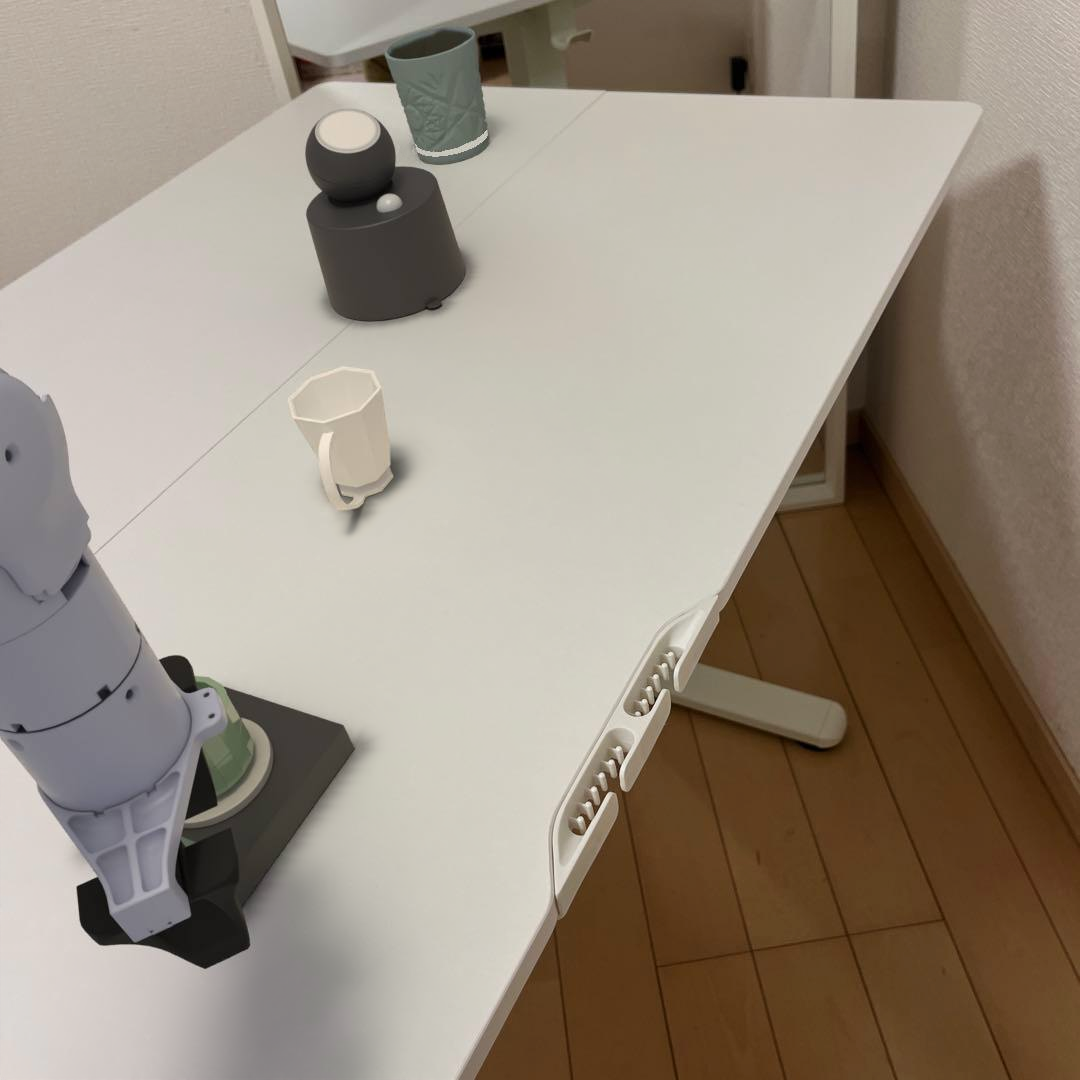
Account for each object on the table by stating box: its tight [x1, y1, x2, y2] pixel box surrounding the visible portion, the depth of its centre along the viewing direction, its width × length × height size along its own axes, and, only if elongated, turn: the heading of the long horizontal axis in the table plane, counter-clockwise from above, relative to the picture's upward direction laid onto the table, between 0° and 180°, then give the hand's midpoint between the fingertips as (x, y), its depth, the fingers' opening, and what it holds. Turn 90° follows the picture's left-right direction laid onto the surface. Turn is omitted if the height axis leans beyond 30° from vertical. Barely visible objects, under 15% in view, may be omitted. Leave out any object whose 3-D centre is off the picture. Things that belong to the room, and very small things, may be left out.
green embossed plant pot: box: [384, 25, 490, 165], centre depth 125 cm, size 10×10×12 cm
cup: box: [287, 365, 394, 511], centre depth 80 cm, size 7×10×8 cm
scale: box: [180, 685, 355, 908], centre depth 63 cm, size 11×11×3 cm
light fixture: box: [304, 108, 466, 322], centre depth 101 cm, size 13×16×14 cm
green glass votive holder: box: [195, 675, 254, 797], centre depth 60 cm, size 6×6×4 cm
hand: (209, 876), depth 47 cm, fingers open, 7 cm apart
